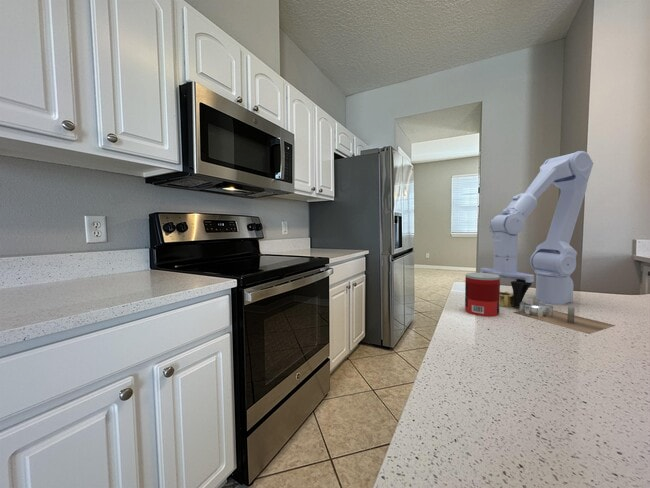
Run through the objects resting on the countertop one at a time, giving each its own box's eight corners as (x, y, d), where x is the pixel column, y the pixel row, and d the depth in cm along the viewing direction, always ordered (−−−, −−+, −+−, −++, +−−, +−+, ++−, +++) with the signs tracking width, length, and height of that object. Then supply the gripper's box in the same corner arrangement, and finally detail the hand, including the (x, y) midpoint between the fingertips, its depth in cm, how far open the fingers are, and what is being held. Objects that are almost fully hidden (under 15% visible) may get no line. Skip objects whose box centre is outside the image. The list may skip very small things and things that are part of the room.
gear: (529, 307, 77) (530, 300, 77) (558, 315, 71) (559, 306, 71) (513, 311, 74) (513, 303, 74) (542, 319, 68) (542, 310, 68)
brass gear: (501, 303, 85) (501, 290, 85) (520, 308, 80) (520, 294, 80) (488, 306, 83) (488, 292, 83) (507, 311, 78) (507, 297, 77)
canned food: (505, 320, 71) (506, 277, 70) (473, 320, 71) (474, 277, 70) (488, 310, 79) (489, 272, 78) (459, 311, 79) (460, 272, 78)
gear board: (538, 310, 78) (538, 294, 78) (615, 329, 63) (616, 310, 63) (512, 316, 74) (512, 299, 73) (589, 338, 59) (589, 317, 59)
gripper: (473, 254, 85) (472, 298, 86) (522, 259, 72) (521, 311, 73) (489, 253, 88) (488, 295, 89) (539, 258, 75) (537, 307, 76)
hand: (504, 302), depth 81 cm, fingers open, 7 cm apart
